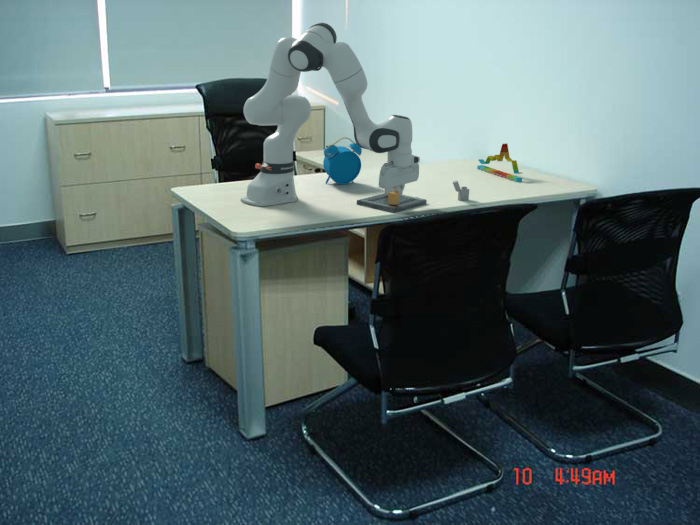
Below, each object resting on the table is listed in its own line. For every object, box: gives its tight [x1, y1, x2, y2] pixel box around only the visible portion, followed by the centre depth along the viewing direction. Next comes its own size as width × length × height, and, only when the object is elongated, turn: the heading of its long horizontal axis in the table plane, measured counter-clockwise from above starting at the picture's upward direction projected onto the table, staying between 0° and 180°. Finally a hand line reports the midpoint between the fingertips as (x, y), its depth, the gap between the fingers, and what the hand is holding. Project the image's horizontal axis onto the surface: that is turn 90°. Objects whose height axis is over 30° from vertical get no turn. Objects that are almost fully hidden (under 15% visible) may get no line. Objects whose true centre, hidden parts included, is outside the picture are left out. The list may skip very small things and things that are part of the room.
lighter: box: [452, 180, 470, 202], centre depth 294 cm, size 7×2×8 cm, turn 117°
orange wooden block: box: [388, 192, 400, 205], centre depth 279 cm, size 3×3×4 cm
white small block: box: [383, 187, 394, 195], centre depth 293 cm, size 3×3×4 cm
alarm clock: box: [322, 136, 363, 185], centre depth 316 cm, size 17×10×20 cm, turn 116°
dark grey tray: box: [356, 193, 427, 214], centre depth 287 cm, size 20×18×2 cm
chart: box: [476, 143, 523, 183], centre depth 340 cm, size 30×3×15 cm, turn 25°
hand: (398, 196), depth 281 cm, fingers closed
